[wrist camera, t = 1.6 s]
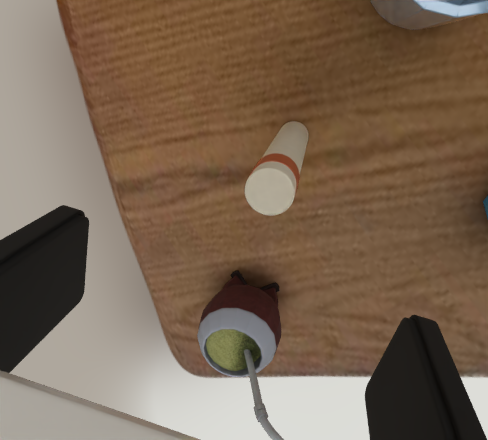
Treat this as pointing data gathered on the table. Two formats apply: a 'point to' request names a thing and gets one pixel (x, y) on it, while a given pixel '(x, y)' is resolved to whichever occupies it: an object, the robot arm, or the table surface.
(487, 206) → the cup
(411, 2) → the tumbler
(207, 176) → the table surface
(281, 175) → the beige cylinder rod
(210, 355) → the mate gourd
